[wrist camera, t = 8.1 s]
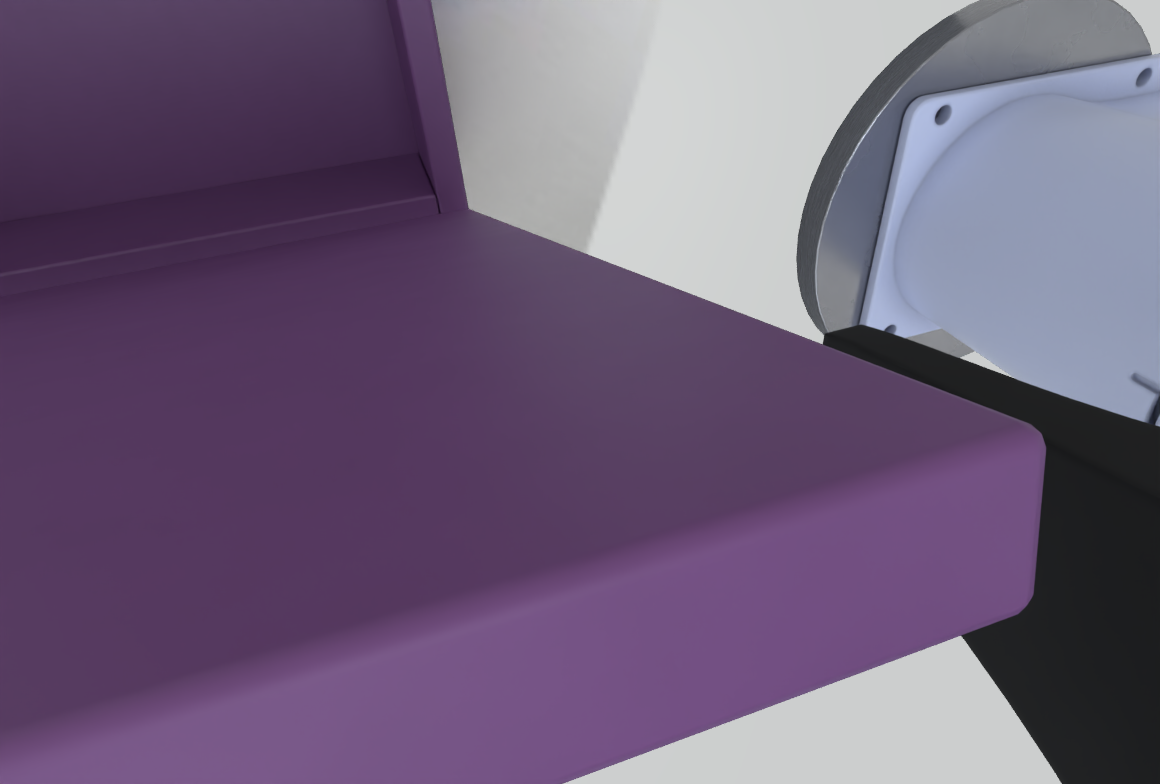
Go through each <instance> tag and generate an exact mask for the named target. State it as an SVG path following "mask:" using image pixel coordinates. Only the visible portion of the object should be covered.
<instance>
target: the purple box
mask: <svg viewBox="0 0 1160 784" xmlns="http://www.w3.org/2000/svg"><path fill="white" fill-rule="evenodd" d="M464 209H469V208H468V203H467V197H466V192H465V186H464V181H463V175H462V170H461V164H460V159H459V153H458V148H457V142H456V137H455V131H454V126H453V120H452V114H451V109H450V103H449V98H448V92H447V87H446V81H445V76H444V70H443V65H442V59H441V54H440V48H439V43H438V37H437V32H436V26H435V21H434V15H433V10H432V4H431V0H0V297H1V296H7V295H12V294H17V293H23V292H28V291H33V290H39V289H44V288H49V287H55V286H60V285H65V284H71V283H76V282H81V281H87V280H92V279H97V278H102V277H108V276H113V275H118V274H124V273H129V272H134V271H140V270H145V269H150V268H156V267H161V266H166V265H172V264H177V263H182V262H188V261H193V260H198V259H203V258H209V257H214V256H219V255H225V254H230V253H235V252H241V251H246V250H251V249H257V248H262V247H267V246H273V245H278V244H283V243H289V242H294V241H299V240H305V239H310V238H315V237H320V236H326V235H331V234H336V233H342V232H347V231H352V230H358V229H363V228H368V227H374V226H379V225H384V224H390V223H395V222H400V221H406V220H411V219H416V218H422V217H427V216H432V215H437V214H443V213H448V212H453V211H459V210H464Z"/></svg>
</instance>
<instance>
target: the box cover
mask: <svg viewBox="0 0 1160 784" xmlns="http://www.w3.org/2000/svg"><path fill="white" fill-rule="evenodd" d="M1045 457H1046V445H1045V442H1044V439H1043V436H1042V434H1041V433H1040V432H1039V431H1038V430H1037V429H1036V428H1035V427H1033V426H1032V425H1031V424H1029V423H1026V422H1024V421H1021V420H1018V419H1016V418H1013V417H1011V416H1008V415H1005V414H1003V413H1000V412H998V411H995V410H992V409H990V408H987V407H984V406H982V405H979V404H977V403H974V402H971V401H969V400H966V399H964V398H961V397H958V396H956V395H953V394H951V393H948V392H945V391H943V390H940V389H937V388H935V387H932V386H930V385H927V384H924V383H922V382H919V381H917V380H914V379H911V378H909V377H906V376H904V375H901V374H898V373H896V372H893V371H890V370H888V369H885V368H883V367H880V366H877V365H875V364H872V363H870V362H867V361H864V360H862V359H859V358H857V357H854V356H851V355H849V354H846V353H843V352H841V351H838V350H836V349H833V348H830V347H828V346H825V345H823V344H820V343H817V342H815V341H812V340H810V339H807V338H804V337H802V336H799V335H796V334H794V333H791V332H789V331H786V330H783V329H780V328H778V327H775V326H773V325H770V324H768V323H765V322H762V321H760V320H757V319H755V318H752V317H749V316H747V315H744V314H741V313H739V312H736V311H734V310H731V309H728V308H726V307H723V306H721V305H718V304H715V303H713V302H710V301H708V300H705V299H702V298H700V297H697V296H695V295H692V294H689V293H687V292H684V291H682V290H679V289H676V288H674V287H671V286H668V285H665V284H663V283H660V282H658V281H655V280H653V279H650V278H648V277H645V276H642V275H640V274H637V273H635V272H632V271H629V270H626V269H624V268H621V267H619V266H616V265H613V264H611V263H608V262H606V261H603V260H601V259H598V258H595V257H592V256H590V255H588V254H585V253H582V252H580V251H577V250H574V249H572V248H569V247H567V246H564V245H561V244H559V243H556V242H554V241H551V240H548V239H546V238H543V237H541V236H538V235H535V234H533V233H530V232H527V231H525V230H522V229H520V228H517V227H514V226H512V225H509V224H507V223H504V222H501V221H499V220H496V219H494V218H491V217H488V216H486V215H483V214H480V213H478V212H475V211H473V210H470V209H464V210H459V211H453V212H448V213H443V214H437V215H432V216H427V217H422V218H416V219H411V220H406V221H400V222H395V223H390V224H384V225H379V226H374V227H368V228H363V229H358V230H352V231H347V232H342V233H336V234H331V235H326V236H320V237H315V238H310V239H305V240H299V241H294V242H289V243H283V244H278V245H273V246H267V247H262V248H257V249H251V250H246V251H241V252H235V253H230V254H225V255H219V256H214V257H209V258H203V259H198V260H193V261H188V262H182V263H177V264H172V265H166V266H161V267H156V268H150V269H145V270H140V271H134V272H129V273H124V274H118V275H113V276H108V277H102V278H97V279H92V280H87V281H81V282H76V283H71V284H65V285H60V286H55V287H49V288H44V289H39V290H33V291H28V292H23V293H17V294H12V295H7V296H1V297H0V784H563V783H566V782H568V781H571V780H574V779H576V778H579V777H582V776H584V775H587V774H590V773H593V772H595V771H598V770H601V769H603V768H606V767H609V766H611V765H614V764H617V763H619V762H622V761H625V760H627V759H630V758H633V757H635V756H638V755H640V754H644V753H646V752H649V751H652V750H654V749H657V748H659V747H662V746H665V745H668V744H670V743H673V742H676V741H678V740H681V739H684V738H687V737H689V736H692V735H695V734H697V733H700V732H703V731H705V730H708V729H711V728H713V727H716V726H719V725H721V724H724V723H727V722H730V721H732V720H735V719H738V718H740V717H743V716H746V715H748V714H751V713H754V712H756V711H759V710H762V709H765V708H767V707H770V706H773V705H775V704H778V703H781V702H783V701H786V700H789V699H791V698H794V697H797V696H800V695H802V694H805V693H808V692H810V691H813V690H816V689H818V688H821V687H823V686H826V685H829V684H832V683H834V682H837V681H840V680H842V679H845V678H848V677H851V676H853V675H856V674H859V673H861V672H864V671H867V670H869V669H872V668H875V667H877V666H880V665H883V664H885V663H888V662H891V661H894V660H896V659H899V658H901V657H904V656H907V655H910V654H912V653H915V652H918V651H920V650H923V649H926V648H928V647H931V646H934V645H937V644H939V643H942V642H945V641H947V640H950V639H953V638H955V637H958V636H961V635H964V634H966V633H969V632H972V631H974V630H977V629H980V628H982V627H985V626H988V625H990V624H993V623H996V622H998V621H1001V620H1004V619H1007V618H1009V617H1012V616H1015V615H1017V614H1019V613H1020V612H1021V611H1022V610H1023V609H1024V608H1025V607H1026V606H1027V605H1028V603H1029V601H1030V600H1031V598H1032V596H1033V594H1034V583H1035V571H1036V560H1037V548H1038V537H1039V525H1040V514H1041V502H1042V491H1043V480H1044V468H1045Z"/></svg>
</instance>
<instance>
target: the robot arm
mask: <svg viewBox="0 0 1160 784" xmlns="http://www.w3.org/2000/svg"><path fill="white" fill-rule="evenodd" d="M940 108H941V112H940V114H939V116H938V117H937V118H936V119H935V116H936V113H937V111H938V110H939V109H940ZM938 329H943V330H945V331H946V332H948V333H949V334H951V335H952V336H954V337H955V338H957V339H958V340H960V341H961V342H962V343H964V344H965V345H967V346H968V347H970V348H971V349H973V350H974V351H976V352H977V353H979V354H980V355H981V356H983V357H984V358H986V359H987V360H989V361H991V362H992V363H993V364H995V365H996V366H998V367H999V368H1000V369H1002V370H1004V371H1005V372H1006V373H1008V374H1009V375H1011V376H1012V377H1014V378H1015V379H1014V378H1012V377H1009V376H1006V375H1003V374H1001V373H998V372H995V371H993V370H990V369H987V368H985V367H982V366H979V365H977V364H974V363H971V362H969V361H966V360H963V359H961V358H958V357H955V356H953V355H950V354H947V353H945V352H942V351H939V350H937V349H934V348H931V347H928V346H926V345H923V344H920V343H917V342H915V341H912V340H909V339H906V338H907V337H911V336H915V335H919V334H922V333H926V332H930V331H934V330H938ZM823 345H825V346H828V347H830V348H833V349H836V350H838V351H841V352H843V353H846V354H849V355H851V356H854V357H857V358H859V359H862V360H864V361H867V362H870V363H872V364H875V365H877V366H880V367H883V368H885V369H888V370H890V371H893V372H896V373H898V374H901V375H904V376H906V377H909V378H911V379H914V380H917V381H919V382H922V383H924V384H927V385H930V386H932V387H935V388H937V389H940V390H943V391H945V392H948V393H951V394H953V395H956V396H958V397H961V398H964V399H966V400H969V401H971V402H974V403H977V404H979V405H982V406H984V407H987V408H990V409H992V410H995V411H998V412H1000V413H1003V414H1005V415H1008V416H1011V417H1013V418H1016V419H1018V420H1021V421H1024V422H1026V423H1029V424H1031V425H1032V426H1033V427H1035V428H1036V429H1037V430H1038V431H1039V432H1040V433H1041V434H1042V436H1043V439H1044V442H1045V445H1046V457H1045V468H1044V480H1043V491H1042V502H1041V514H1040V525H1039V537H1038V548H1037V560H1036V571H1035V583H1034V594H1033V596H1032V598H1031V600H1030V601H1029V603H1028V605H1027V606H1026V607H1025V608H1024V609H1023V610H1022V611H1021V612H1020V613H1019V614H1017V615H1015V616H1012V617H1009V618H1007V619H1004V620H1001V621H998V622H996V623H993V624H990V625H988V626H985V627H982V628H980V629H977V630H974V631H972V632H969V633H966V634H964V635H961V636H962V637H963V639H964V640H965V641H966V643H967V644H968V645H969V647H970V648H971V650H972V651H973V653H974V654H975V655H976V657H977V658H978V660H979V661H980V662H981V664H982V665H983V667H984V668H985V670H986V671H987V672H988V674H989V675H990V677H991V678H992V679H993V681H994V682H995V684H996V685H997V686H998V688H999V689H1000V691H1001V692H1002V694H1003V695H1004V696H1005V698H1006V699H1007V701H1008V702H1009V704H1010V705H1011V707H1012V708H1013V710H1014V711H1015V713H1016V714H1017V716H1018V717H1019V719H1020V720H1021V722H1022V723H1023V725H1024V726H1025V728H1026V729H1027V731H1028V732H1029V734H1030V735H1031V737H1032V738H1033V740H1034V741H1035V743H1036V744H1037V746H1038V747H1039V749H1040V750H1041V752H1042V753H1043V755H1044V756H1045V758H1046V759H1047V761H1048V762H1049V764H1050V766H1051V767H1052V769H1053V770H1054V772H1055V773H1056V775H1057V777H1058V778H1059V780H1060V781H1061V783H1062V784H1160V53H1159V54H1154V55H1148V56H1143V57H1137V58H1131V59H1126V60H1120V61H1115V62H1109V63H1103V64H1098V65H1092V66H1086V67H1081V68H1075V69H1070V70H1064V71H1058V72H1053V73H1047V74H1042V75H1036V76H1030V77H1025V78H1019V79H1014V80H1008V81H1002V82H997V83H991V84H986V85H980V86H974V87H969V88H963V89H958V90H952V91H946V92H941V93H935V94H930V95H924V96H921V97H919V98H917V99H915V100H914V101H913V102H912V103H911V104H910V105H909V107H908V108H907V110H906V112H905V115H904V118H903V122H902V127H901V132H900V136H899V141H898V146H897V150H896V155H895V160H894V164H893V169H892V174H891V178H890V183H889V188H888V192H887V197H886V202H885V206H884V211H883V216H882V220H881V225H880V230H879V234H878V239H877V244H876V248H875V253H874V258H873V262H872V267H871V272H870V276H869V281H868V286H867V290H866V295H865V300H864V304H863V309H862V314H861V318H860V323H859V325H856V326H852V327H848V328H844V329H841V330H837V331H833V332H829V333H825V335H824V341H823Z"/></svg>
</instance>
